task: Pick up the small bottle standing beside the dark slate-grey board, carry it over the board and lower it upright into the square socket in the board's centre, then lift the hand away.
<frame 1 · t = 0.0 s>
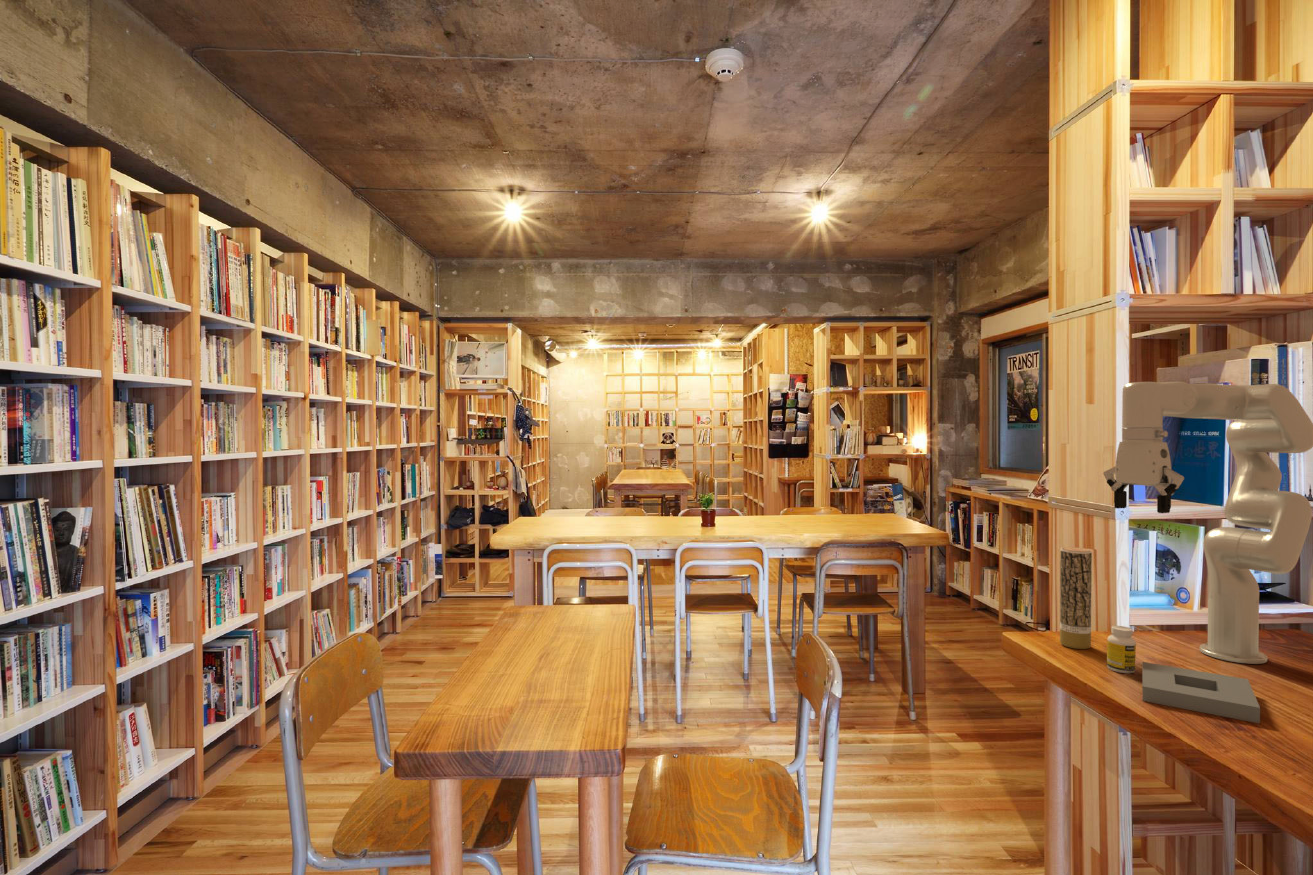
hand: (1141, 510, 153), 37 cm above the table, tool pointing down, fingers open, 9 cm apart
supplement bottle: (1121, 670, 155), on the table
paper tube: (1075, 646, 172), on the table
socket board: (1195, 696, 139), on the table
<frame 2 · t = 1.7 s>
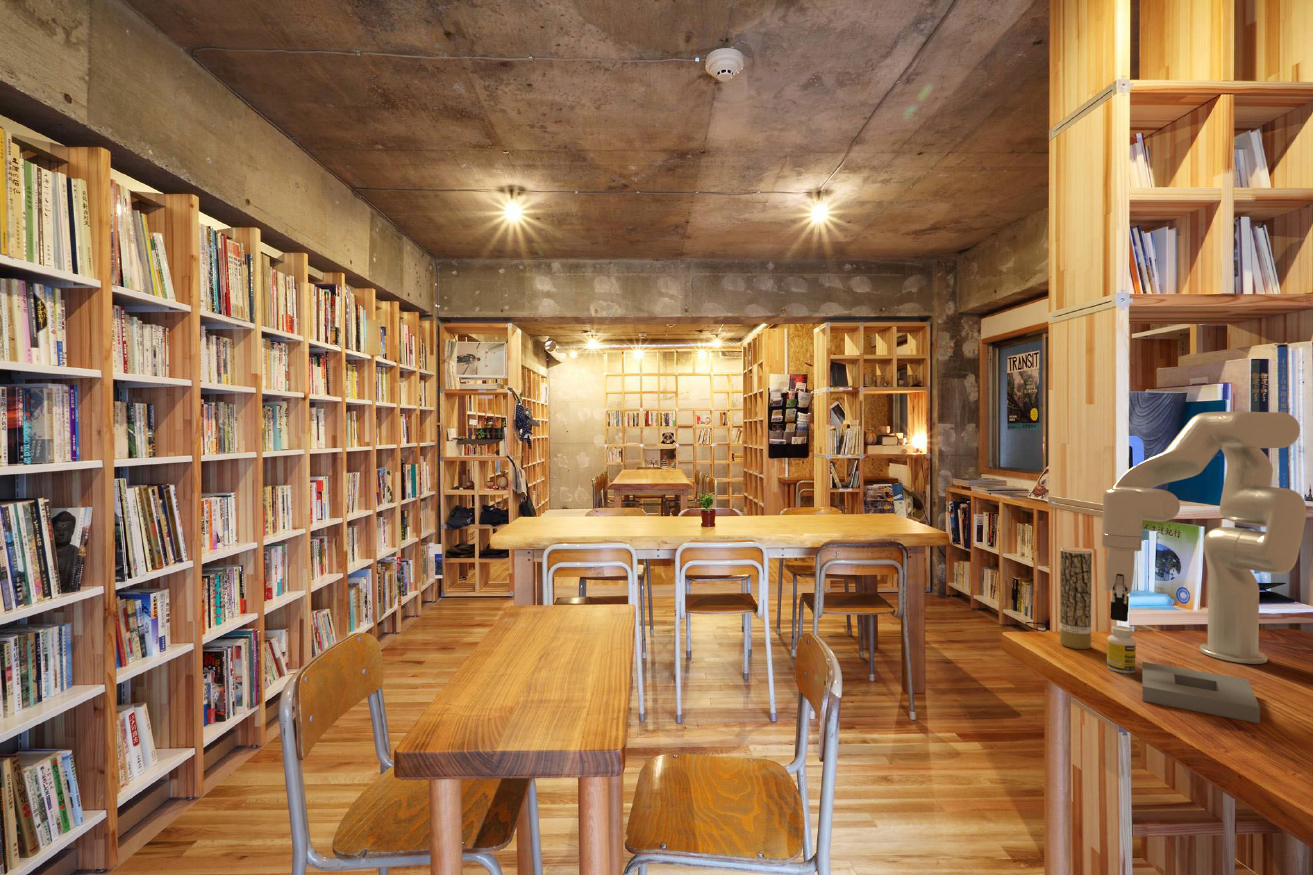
hand: (1119, 615, 154), 13 cm above the table, tool pointing down, fingers open, 9 cm apart
nothing on the table moved.
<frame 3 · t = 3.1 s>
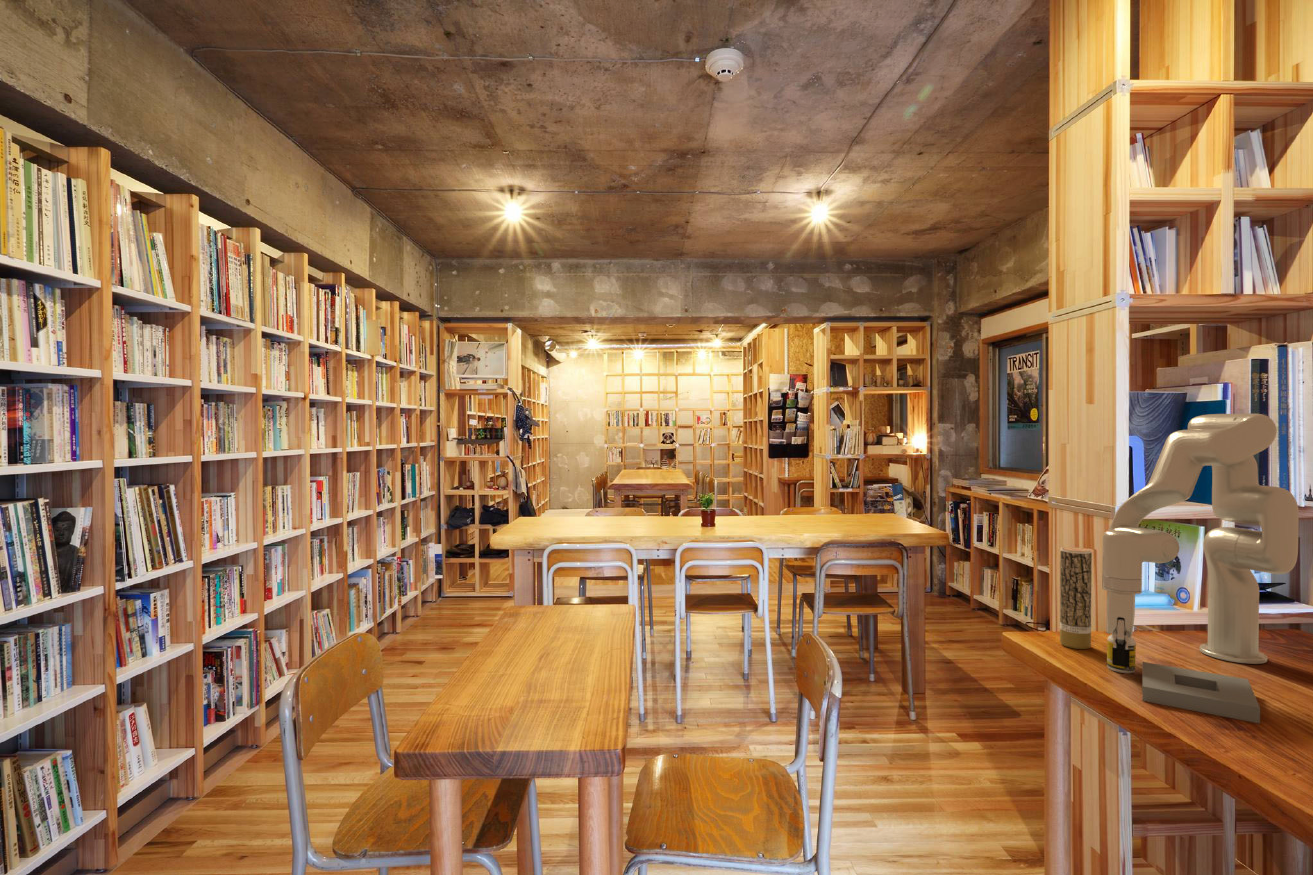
hand: (1121, 661, 155), 2 cm above the table, tool pointing down, fingers closed on supplement bottle, 5 cm apart
supplement bottle: (1121, 670, 155), on the table, touching gripper
everything else where it was.
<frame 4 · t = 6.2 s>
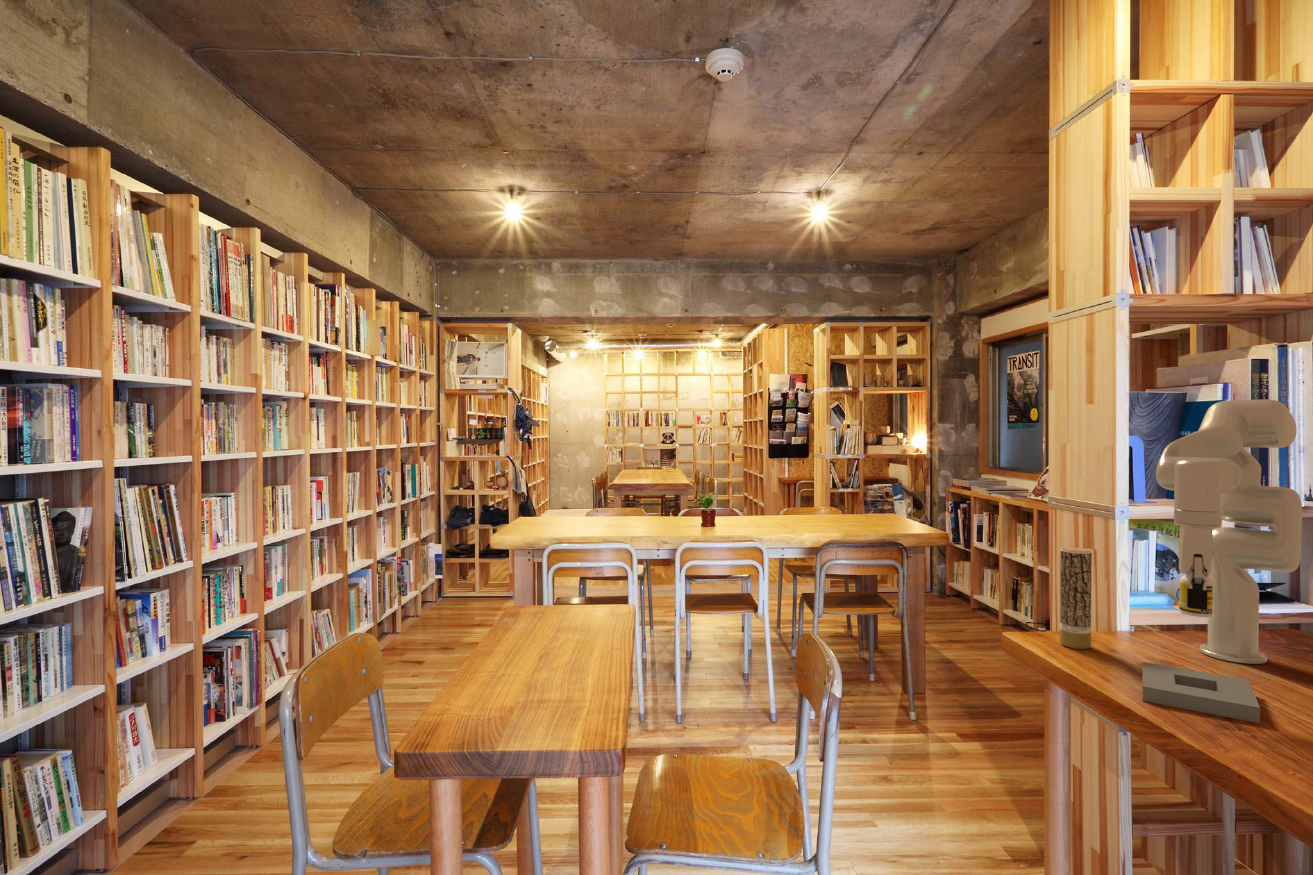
hand: (1196, 604, 139), 19 cm above the table, tool pointing down, fingers closed on supplement bottle, 5 cm apart
supplement bottle: (1195, 615, 139), point 17 cm above the table, touching gripper
everything else where it was.
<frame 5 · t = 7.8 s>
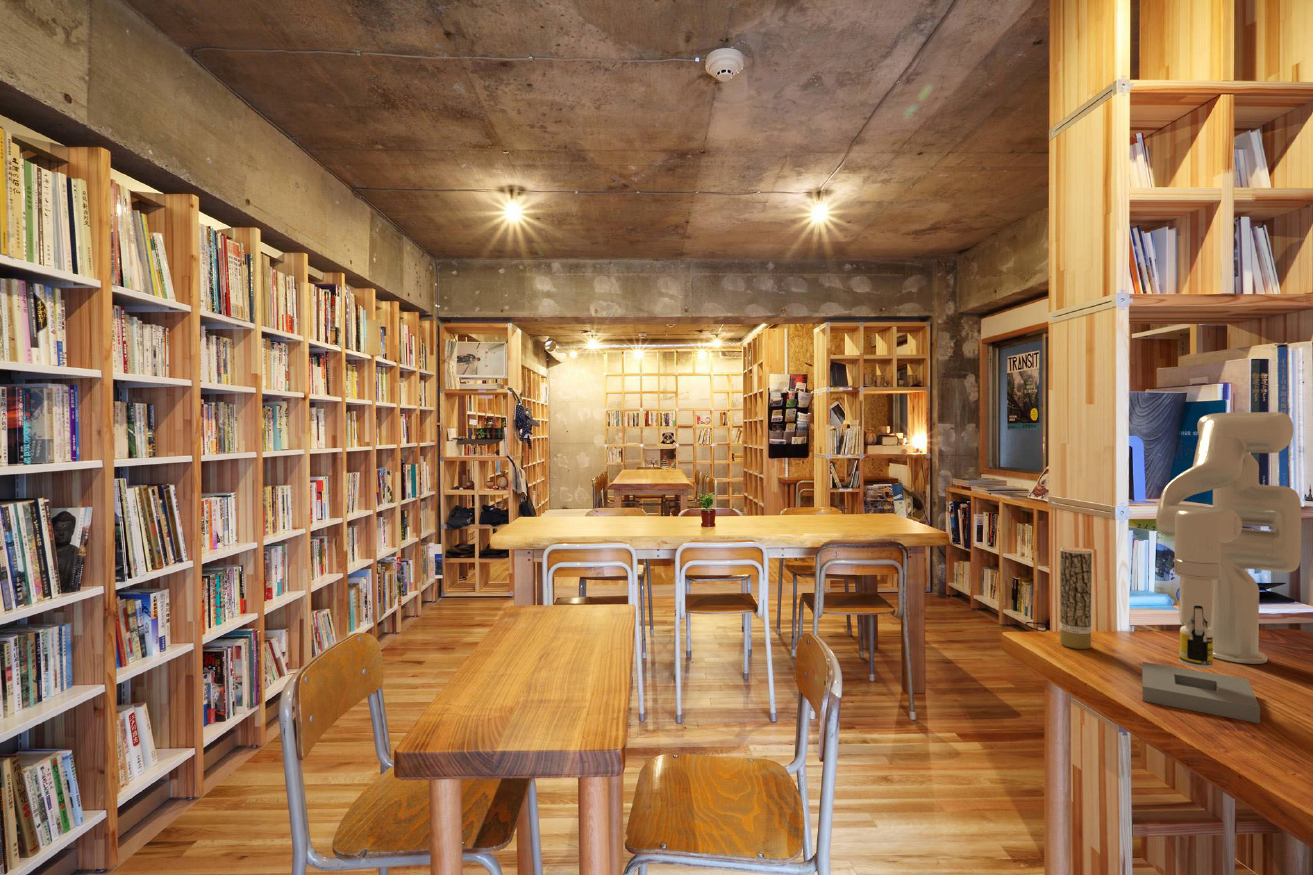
hand: (1196, 654, 139), 9 cm above the table, tool pointing down, fingers closed on supplement bottle, 5 cm apart
supplement bottle: (1195, 665, 139), point 7 cm above the table, touching gripper
everything else where it was.
when the fingers open (5 cm above the table, at t = 9.2 s): supplement bottle drops 3 cm, resting in socket board.
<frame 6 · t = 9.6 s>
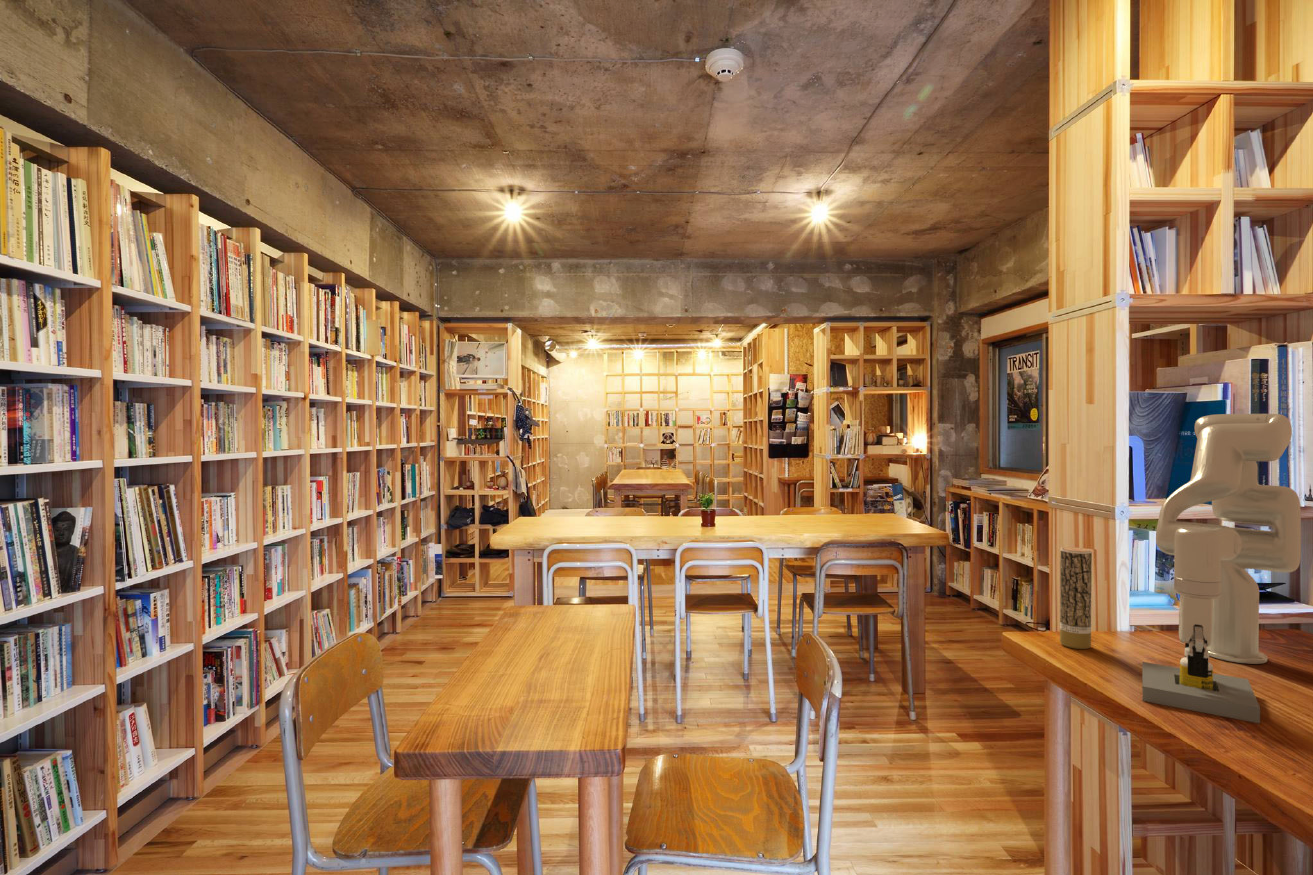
hand: (1196, 669, 139), 6 cm above the table, tool pointing down, fingers open, 9 cm apart
supplement bottle: (1195, 697, 139), resting in socket board
everything else where it was.
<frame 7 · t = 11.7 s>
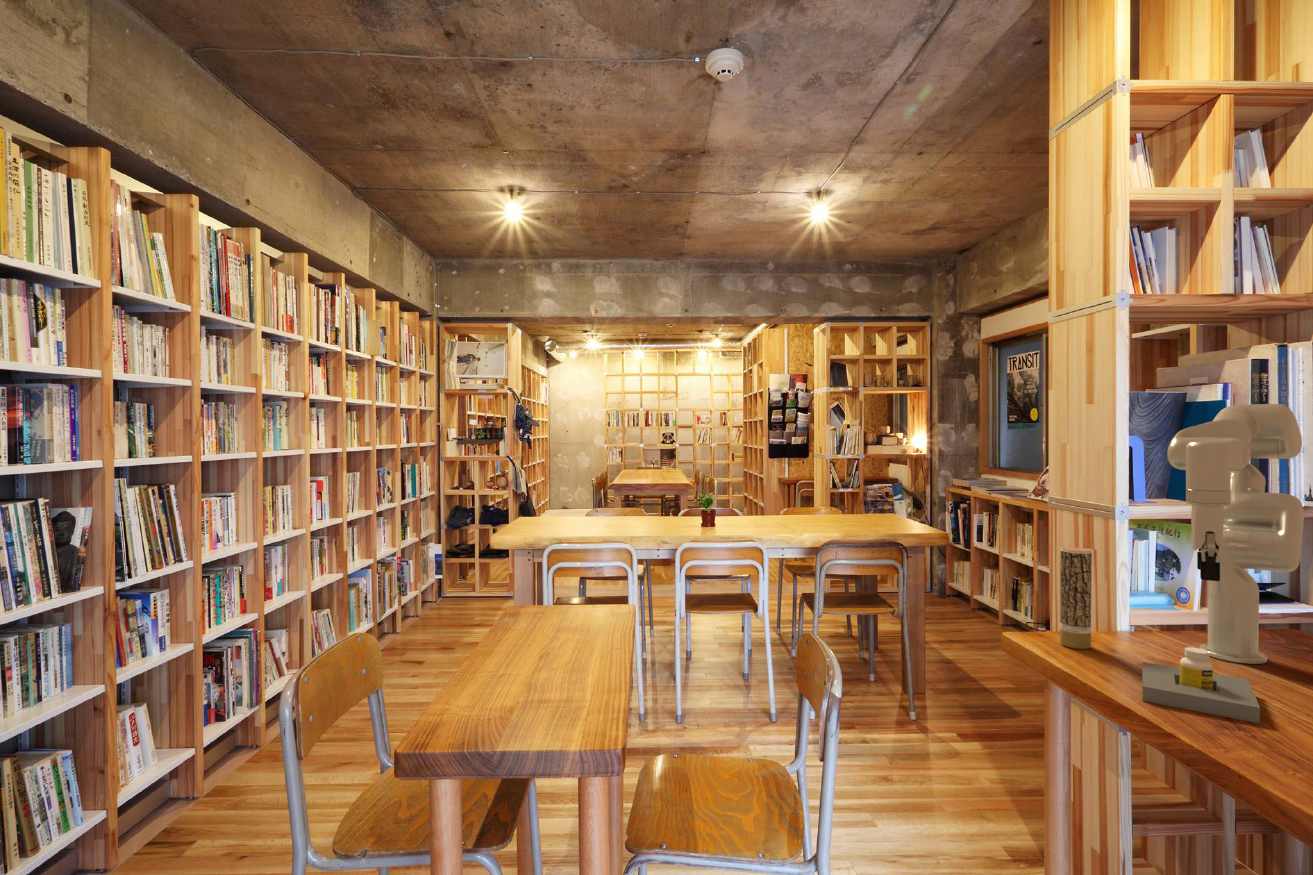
hand: (1208, 574, 146), 24 cm above the table, tool pointing down, fingers open, 9 cm apart
nothing on the table moved.
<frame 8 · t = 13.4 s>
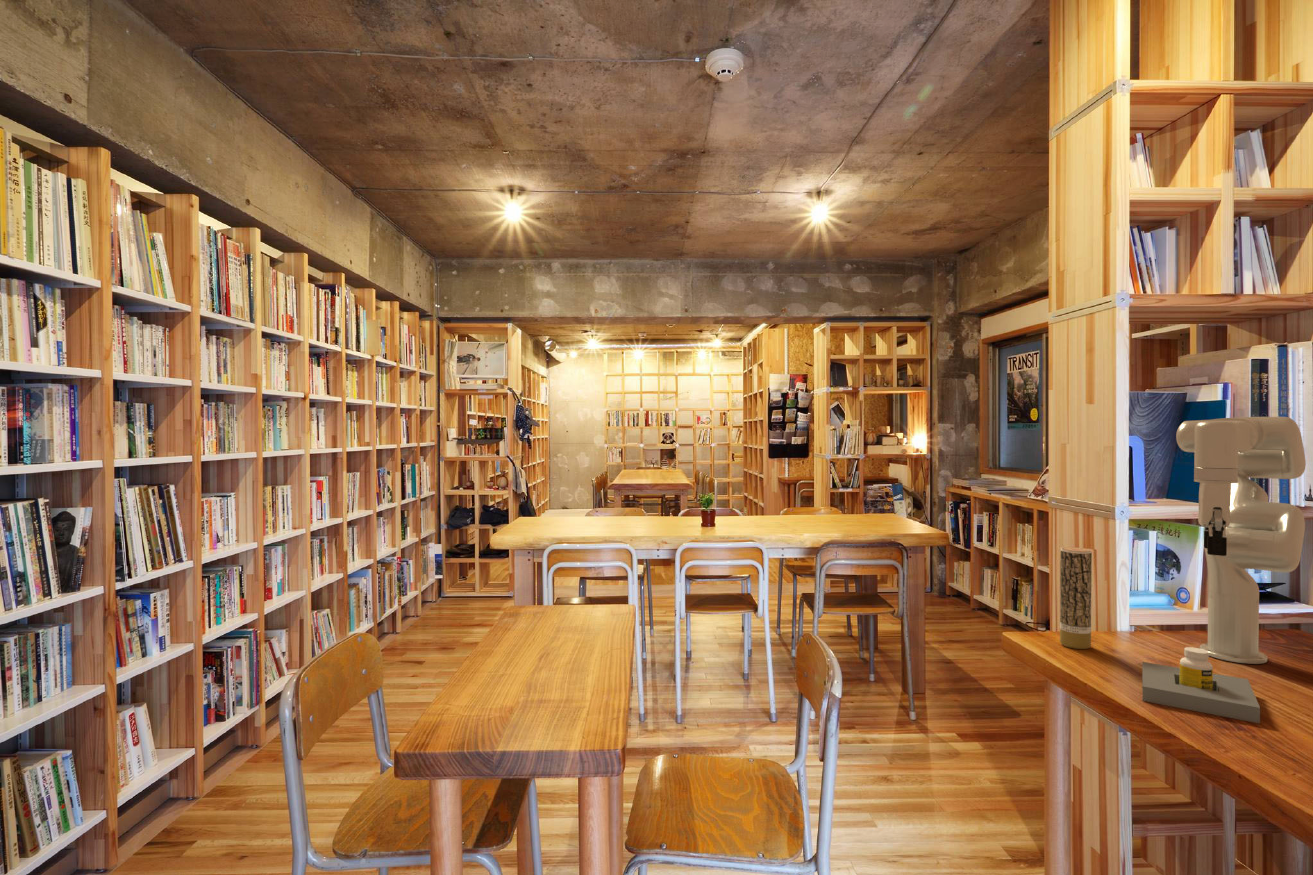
hand: (1214, 551, 150), 28 cm above the table, tool pointing down, fingers open, 9 cm apart
nothing on the table moved.
at the end: supplement bottle 0.2 cm off-centre on the socket board, point 0.0 cm above the socket board's base; supplement bottle tilted 0°; the gripper is holding nothing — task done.
